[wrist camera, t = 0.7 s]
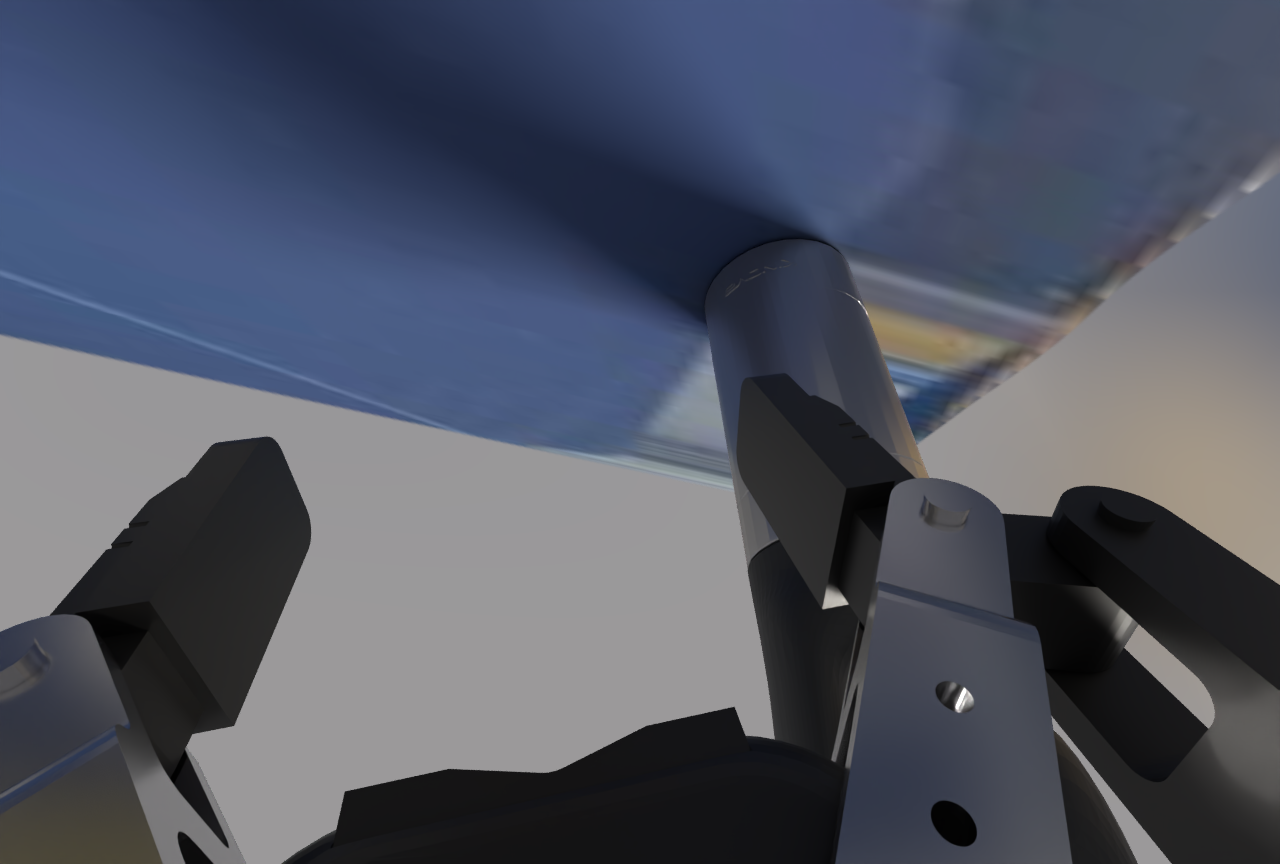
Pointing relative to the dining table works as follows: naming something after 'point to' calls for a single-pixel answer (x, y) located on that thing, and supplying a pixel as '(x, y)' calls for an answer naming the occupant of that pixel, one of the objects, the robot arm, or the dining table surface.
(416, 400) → the dining table surface
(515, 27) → the dining table surface
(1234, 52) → the dining table surface
